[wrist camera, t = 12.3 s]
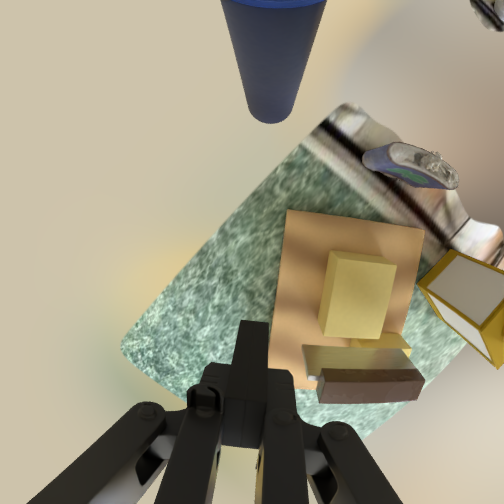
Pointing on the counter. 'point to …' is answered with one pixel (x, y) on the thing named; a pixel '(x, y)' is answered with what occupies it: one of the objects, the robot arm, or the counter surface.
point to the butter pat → (383, 342)
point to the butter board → (313, 276)
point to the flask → (412, 166)
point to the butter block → (355, 295)
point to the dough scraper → (361, 374)
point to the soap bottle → (469, 301)
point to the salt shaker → (499, 8)
